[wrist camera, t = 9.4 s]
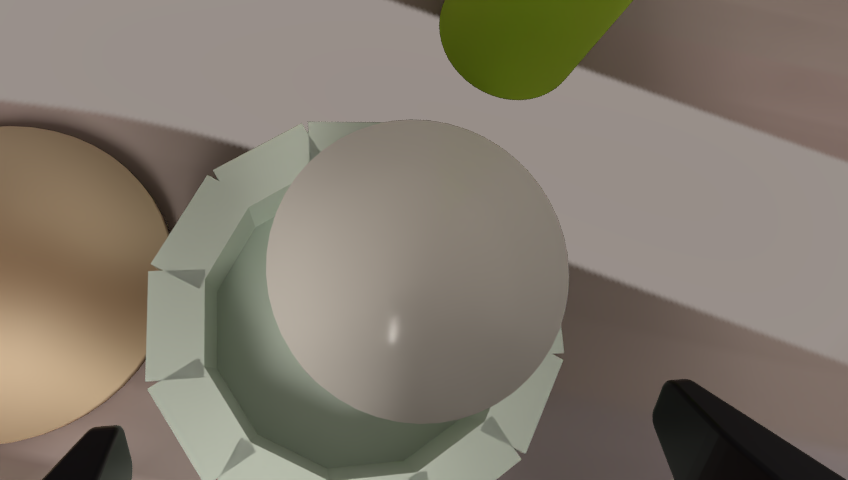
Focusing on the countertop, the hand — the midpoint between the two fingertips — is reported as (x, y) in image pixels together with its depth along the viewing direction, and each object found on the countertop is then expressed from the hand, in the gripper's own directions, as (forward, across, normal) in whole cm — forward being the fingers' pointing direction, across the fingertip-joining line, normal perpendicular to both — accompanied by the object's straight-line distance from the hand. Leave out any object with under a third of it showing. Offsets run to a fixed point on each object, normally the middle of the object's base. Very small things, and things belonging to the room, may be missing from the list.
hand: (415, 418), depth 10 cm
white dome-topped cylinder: (+9, 0, +5) cm, 10 cm away
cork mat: (+11, +11, +4) cm, 16 cm away
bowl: (+10, 0, +6) cm, 11 cm away
